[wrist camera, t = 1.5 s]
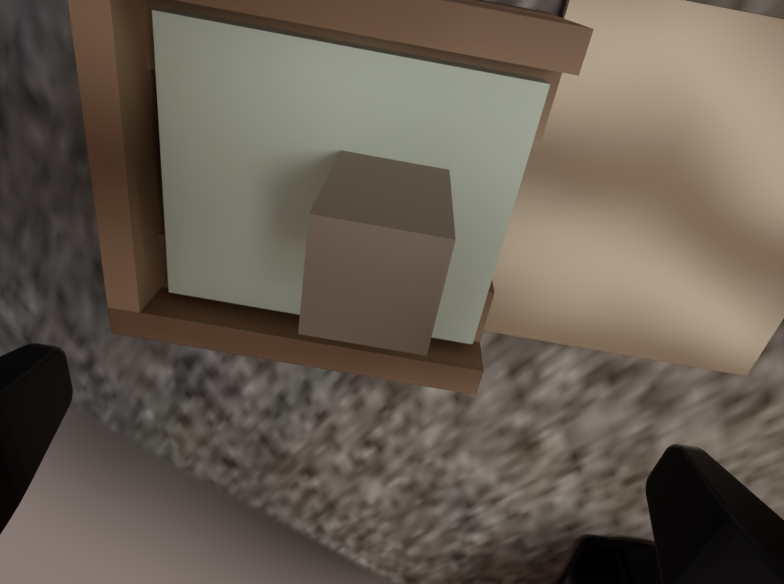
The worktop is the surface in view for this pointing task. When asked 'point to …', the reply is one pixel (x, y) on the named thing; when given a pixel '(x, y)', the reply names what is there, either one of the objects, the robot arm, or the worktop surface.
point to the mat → (655, 191)
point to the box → (144, 176)
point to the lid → (336, 178)
